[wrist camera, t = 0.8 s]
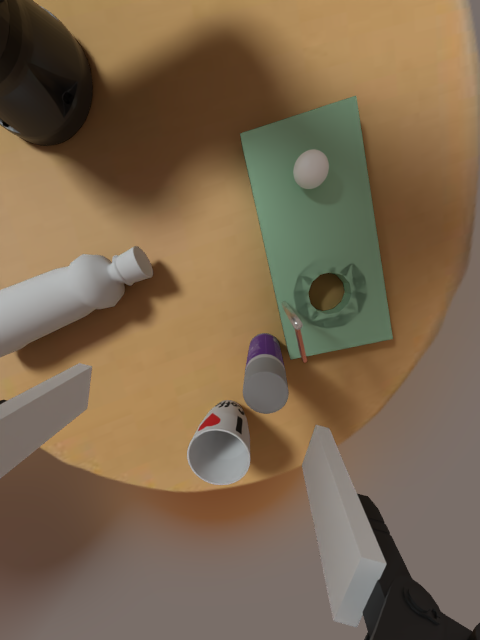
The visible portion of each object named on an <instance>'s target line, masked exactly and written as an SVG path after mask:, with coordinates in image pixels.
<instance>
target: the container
mask: <svg viewBox="0 0 480 640" xmlns="http://www.w3.org/2000/svg"><path fill="white" fill-rule="evenodd" d="M243 397H244V400H245V402H246V403H247V405H248V406H249V407H250V408H251V409H253V410H254V411H256V412H259V413H264V414H268V413H273V412H276V411H278V410H280V409H281V408H282V407H283V406H284V405H285V403H286V402H287V399H288V385H287V379H286V372H285V367H284V363H283V358H282V354H281V349H280V345H279V342H278V340H277V339H276V338H275V337H274V336H273V335H271V334H267V333H262V334H258V335H257V336H255V337H254V338H253V339H252V341H251V343H250V346H249V352H248V357H247V363H246V368H245V377H244V386H243Z"/></svg>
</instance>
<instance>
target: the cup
mask: <svg viewBox="0 0 480 640" xmlns="http://www.w3.org/2000/svg"><path fill="white" fill-rule="evenodd" d="M187 458H188V463H189V465H190V467H191V469H192V470H193V472H194V473H195V474H196V475H197V476H198V477H199V478H201V479H202V480H204V481H206V482H208V483H211V484H215V485H227V484H232V483H234V482H236V481H238V480H240V479H241V478H242V477H243V476H244V475H245V474H246V472H247V471H248V468H249V465H250V434H249V428H248V422H247V418H246V416H245V414H244V411H243V409H242V407H241V406H240V405H239V404H238V403H236V402H234V401H231V400H225V401H222V402H220V403H218V404H217V405H216V406H215V407H213V408H212V409H211V410H210V411H209V413H208V414H207V415H206V417H205V418H204V419H203V421H202V422H201V423H200V425H199V427H198V429H197V431H196V433H195V435H194V436H193V438H192V440H191V442H190V444H189V447H188V451H187Z"/></svg>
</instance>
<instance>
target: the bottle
mask: <svg viewBox="0 0 480 640" xmlns="http://www.w3.org/2000/svg"><path fill="white" fill-rule="evenodd" d="M152 276H153V269H152V266H151V263H150V261H149V259H148V257H147V256H146V254H145V253H144V252H143V250H142V249H140V248H139V247H137V246H134V247H133V248H131V249H129V250H128V251H126V252H124V253H123V254H121V255H119V256H118V255H115V256H114V257H113V260H112V262H111V261H110V260H109V259H107V258H105V257H104V256H101V255H87V254H82V255H81V256H79V257H78V258H77V259H75V260H74V261H73V262H71V263H70V265H69V266H68V267H63V268H58V269H54V270H51V271H49V272H46V273H44V274H41V275H38V276H36V277H33V278H31V279H28V280H25V281H23V282H20V283H18V284H15V285H13V286H10V287H7V288H5V289H2V290H0V357H2V356H5V355H7V354H10V353H12V352H15V351H17V350H20V349H22V348H23V347H25V346H26V345H27V344H29V343H31V342H33V341H35V340H37V339H39V338H41V337H43V336H45V335H47V334H49V333H52V332H54V331H56V330H58V329H60V328H62V327H64V326H66V325H68V324H70V323H73V322H75V321H77V320H79V319H81V318H83V317H85V316H87V315H88V314H90V313H91V312H92V311H94V310H95V309H104V308H109V307H113V306H115V305H116V304H117V302H118V301H119V300H120V299H121V297H122V296H123V295H124V291H125V286H124V283H125V284H127V285H129V286H131V285H133V283H134V282H138V281H141V280H144V279H148V278H151V277H152Z"/></svg>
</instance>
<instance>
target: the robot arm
mask: <svg viewBox="0 0 480 640" xmlns="http://www.w3.org/2000/svg"><path fill="white" fill-rule="evenodd" d="M91 100H92V76H91V71H90V67H89V64H88V61H87V58H86V56H85V54H84V52H83V50H82V48H81V46H80V45H79V43H78V42H77V41H76V39H75V38H74V37H73V36H72V34H71V33H70V32H69V31H68V29H67V28H66V27H65V26H64V25H63V24H62V22H61V21H60V20H59V19H58V18H56V17H55V16H54V15H53V14H52V13H50V12H49V11H48V10H46V9H44V8H43V7H41V6H39V5H38V4H37V3H35V2H34V1H33V0H0V125H1V126H3V127H4V128H5V129H7V130H8V131H10V132H11V133H13V134H15V135H17V136H19V137H20V138H22V139H24V140H26V141H28V142H30V143H33V144H37V145H55V144H59V143H61V142H64V141H66V140H67V139H69V138H70V137H72V136H73V135H74V134H75V133H76V132H77V131H78V130H79V129H80V127H81V126H82V124H83V123H84V121H85V119H86V117H87V115H88V112H89V109H90V105H91ZM91 371H92V366H88V365H84V364H80V363H79V364H77V365H75V366H73V367H71V368H69V369H67V370H65V371H63V372H62V373H60V374H58V375H56V376H54V377H52V378H50V379H48V380H46V381H44V382H42V383H40V384H39V385H37V386H35V387H33V388H31V389H29V390H27V391H25V392H23V393H21V394H19V395H17V396H15V397H14V398H12V399H10V400H8V401H7V400H1V401H0V478H1V477H2V476H4V475H5V474H6V473H8V472H9V471H10V470H11V469H13V468H14V467H15V466H16V465H18V464H19V463H20V462H21V461H23V460H24V459H25V458H26V457H28V456H29V455H30V454H31V453H32V452H34V451H35V450H36V449H37V448H39V447H40V446H41V445H42V444H44V443H45V442H46V441H47V440H49V439H50V438H51V437H52V436H54V435H55V434H56V433H57V432H59V431H60V430H61V429H62V428H64V427H65V426H66V425H67V424H69V423H70V422H71V421H72V420H74V419H75V418H76V417H77V416H78V415H80V414H81V413H82V412H83V411H85V410H86V409H87V406H88V397H89V388H90V380H91ZM302 469H303V473H304V478H305V483H306V488H307V493H308V498H309V503H310V508H311V513H312V518H313V523H314V527H315V532H316V537H317V542H318V547H319V552H320V557H321V561H322V567H323V571H324V576H325V581H326V586H327V591H328V596H329V600H330V605H331V610H332V616H333V620H334V621H336V622H340V623H343V624H347V625H350V626H354V627H357V626H358V624H359V621H360V619H361V617H362V615H363V616H364V619H365V623H366V626H367V630H368V633H367V635H366V637H365V639H364V640H480V623H479V624H478V625H477V626H476V627H475V628H474V630H473V632H472V631H471V630H469V629H467V628H466V627H464V626H462V625H461V624H459V623H458V622H456V621H454V620H453V619H451V618H449V617H448V616H446V615H445V614H443V613H442V612H441V611H440V609H439V607H438V605H437V604H436V602H435V601H434V599H433V598H432V597H431V595H430V594H429V593H428V592H427V591H426V590H425V589H424V588H423V587H422V586H421V585H420V584H418V583H417V582H415V581H414V580H413V579H412V578H411V576H410V574H409V572H408V570H407V567H406V565H405V563H404V561H403V559H402V557H401V555H400V553H399V551H398V549H397V547H396V545H395V543H394V541H393V539H392V536H390V532H389V530H388V528H387V526H386V525H385V524H384V520H383V518H382V516H381V514H380V512H379V510H378V508H377V507H376V506H375V505H374V503H373V502H372V501H371V500H370V498H369V497H368V496H364V495H360V494H357V493H356V490H355V488H354V486H353V483H352V481H351V478H350V476H349V474H348V471H347V470H346V467H345V464H344V462H343V459H342V457H341V455H340V452H339V450H338V448H337V445H336V443H335V441H334V438H333V436H332V433H331V431H330V429H329V428H326V427H323V426H319V425H316V426H315V429H314V432H313V434H312V437H311V440H310V443H309V446H308V449H307V452H306V455H305V458H304V461H303V464H302Z"/></svg>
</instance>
